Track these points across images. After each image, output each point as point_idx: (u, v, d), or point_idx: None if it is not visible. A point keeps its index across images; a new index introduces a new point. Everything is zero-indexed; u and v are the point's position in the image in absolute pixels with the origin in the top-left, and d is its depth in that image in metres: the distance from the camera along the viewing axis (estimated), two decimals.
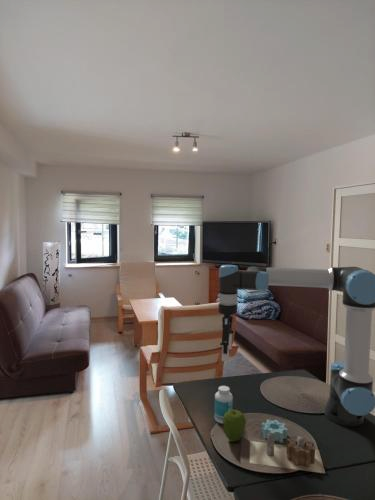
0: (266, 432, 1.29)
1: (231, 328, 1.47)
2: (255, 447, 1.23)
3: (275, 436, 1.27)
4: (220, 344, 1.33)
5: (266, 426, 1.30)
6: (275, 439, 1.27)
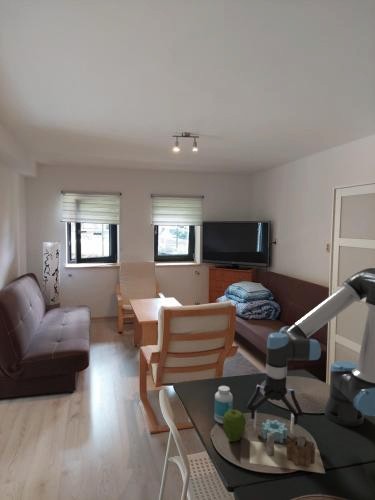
0: (266, 432, 1.29)
1: (294, 410, 1.27)
2: (255, 447, 1.23)
3: (275, 436, 1.27)
4: (251, 406, 1.33)
5: (266, 426, 1.30)
6: (275, 439, 1.27)
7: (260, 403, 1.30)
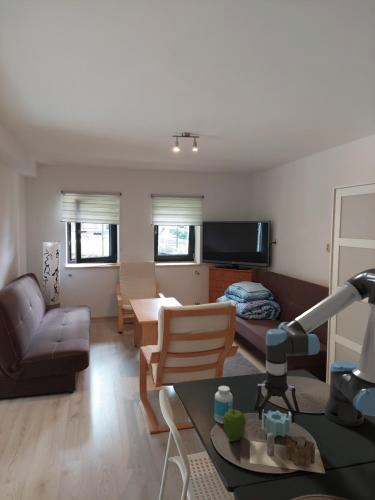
0: (268, 423, 1.28)
1: (292, 408, 1.28)
2: (255, 447, 1.23)
3: (277, 426, 1.27)
4: None
5: (268, 417, 1.30)
6: (277, 429, 1.27)
7: (265, 402, 1.29)
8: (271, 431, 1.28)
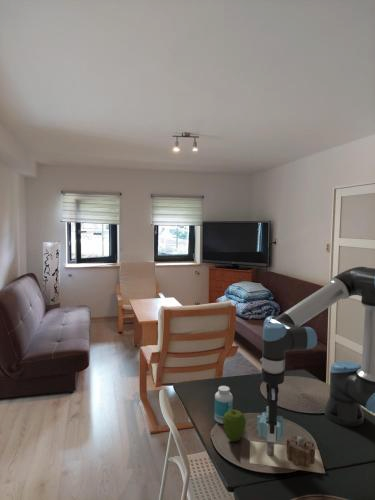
0: None
1: None
2: (255, 447, 1.23)
3: None
4: None
5: None
6: None
7: None
8: (279, 435, 1.17)
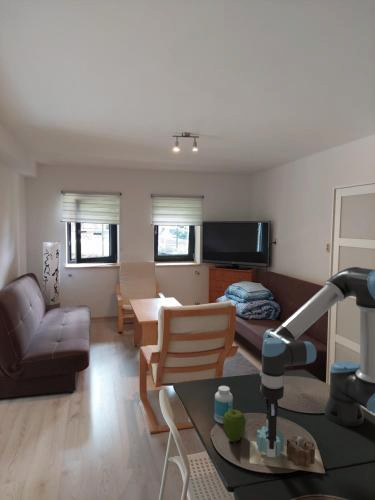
0: None
1: None
2: (255, 447, 1.23)
3: None
4: (266, 438, 1.13)
5: None
6: None
7: None
8: (279, 449, 1.17)
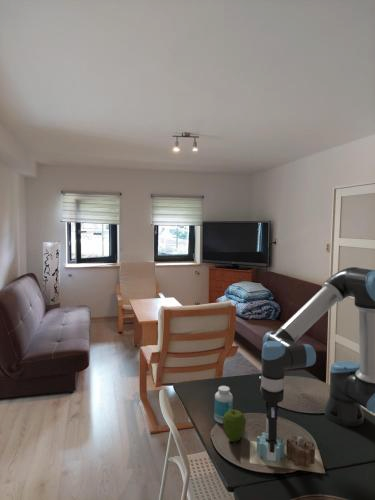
0: None
1: None
2: (255, 447, 1.23)
3: None
4: (266, 441, 1.12)
5: None
6: None
7: None
8: (279, 456, 1.17)
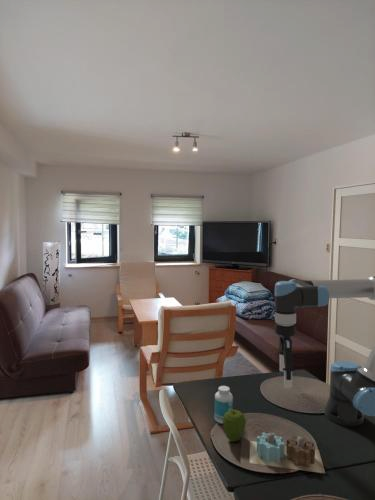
0: None
1: None
2: (255, 447, 1.23)
3: None
4: (283, 370, 1.21)
5: (273, 445, 1.17)
6: None
7: None
8: (279, 456, 1.17)
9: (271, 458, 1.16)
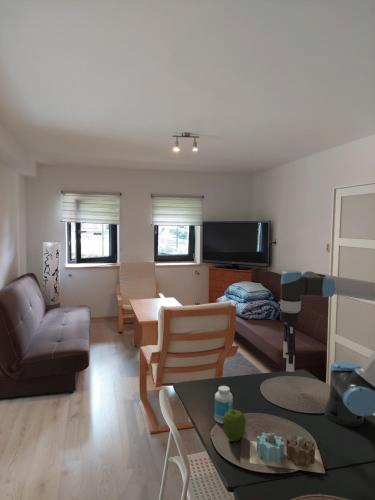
0: None
1: None
2: (255, 447, 1.23)
3: None
4: (285, 354, 1.27)
5: (273, 445, 1.17)
6: None
7: None
8: (279, 456, 1.17)
9: (271, 458, 1.16)
